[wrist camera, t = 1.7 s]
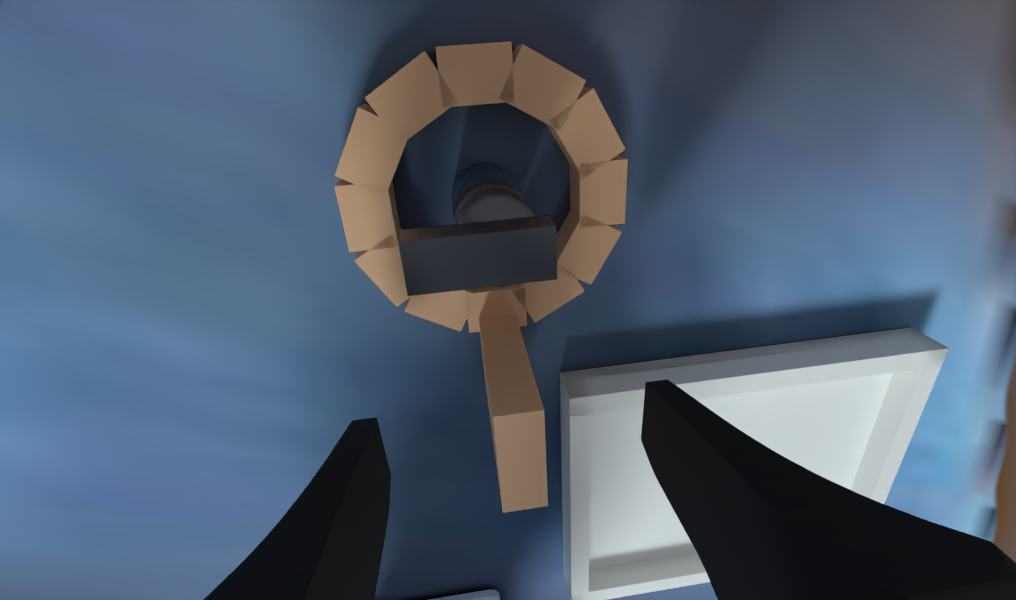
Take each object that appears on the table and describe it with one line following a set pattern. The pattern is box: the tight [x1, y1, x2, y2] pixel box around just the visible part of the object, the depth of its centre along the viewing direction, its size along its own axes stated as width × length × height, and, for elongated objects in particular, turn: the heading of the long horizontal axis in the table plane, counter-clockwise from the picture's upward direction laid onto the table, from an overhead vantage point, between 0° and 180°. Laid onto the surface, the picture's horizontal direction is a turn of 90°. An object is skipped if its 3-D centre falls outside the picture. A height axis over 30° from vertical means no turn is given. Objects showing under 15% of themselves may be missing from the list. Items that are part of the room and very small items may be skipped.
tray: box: [560, 327, 949, 600], centre depth 21 cm, size 12×14×2 cm
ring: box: [334, 41, 628, 513], centre depth 13 cm, size 11×8×6 cm
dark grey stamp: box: [398, 163, 557, 296], centre depth 12 cm, size 2×3×5 cm, turn 94°
